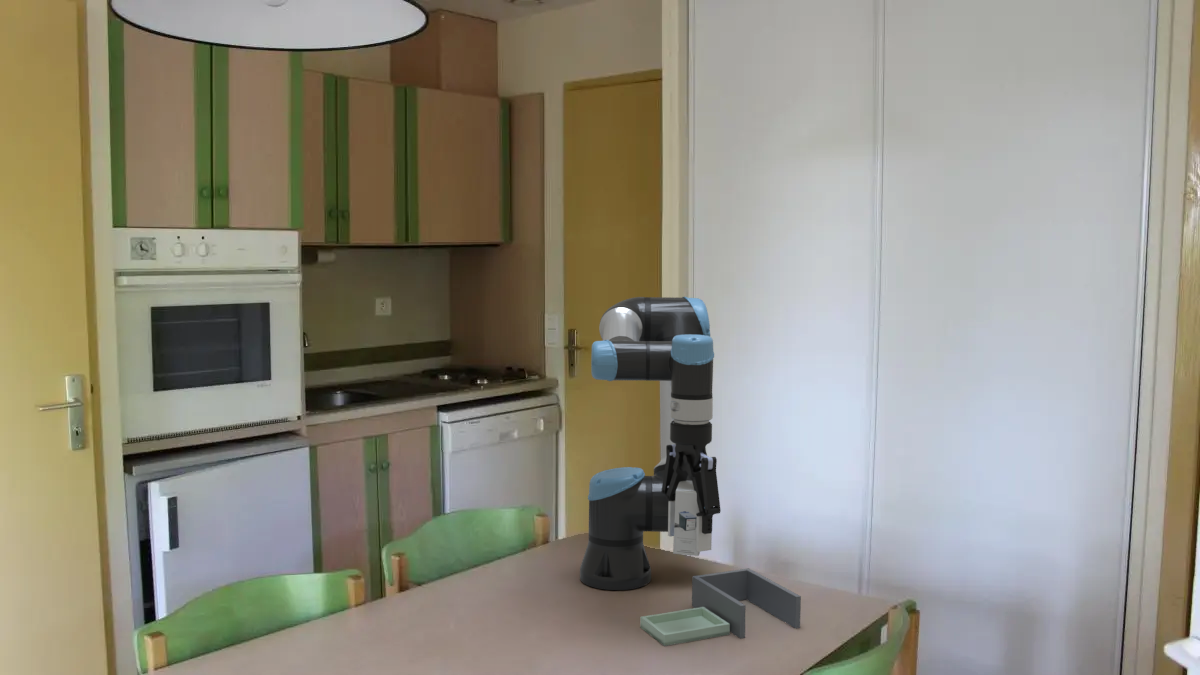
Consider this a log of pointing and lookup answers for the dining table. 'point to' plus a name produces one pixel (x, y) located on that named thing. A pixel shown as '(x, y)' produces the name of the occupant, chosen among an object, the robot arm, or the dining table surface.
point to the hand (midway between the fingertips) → (689, 542)
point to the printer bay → (744, 597)
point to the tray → (684, 626)
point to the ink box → (685, 519)
